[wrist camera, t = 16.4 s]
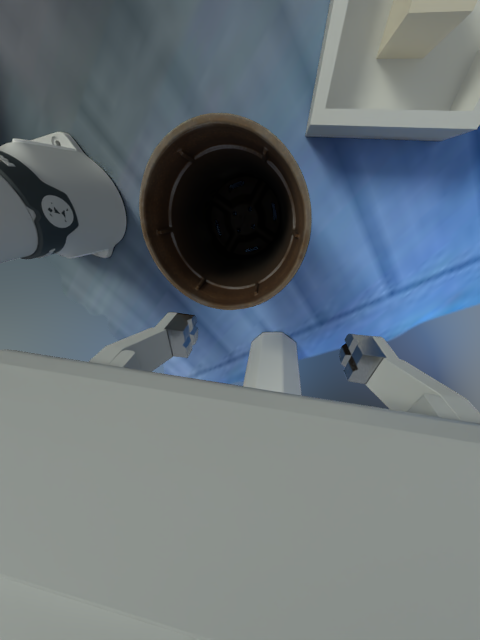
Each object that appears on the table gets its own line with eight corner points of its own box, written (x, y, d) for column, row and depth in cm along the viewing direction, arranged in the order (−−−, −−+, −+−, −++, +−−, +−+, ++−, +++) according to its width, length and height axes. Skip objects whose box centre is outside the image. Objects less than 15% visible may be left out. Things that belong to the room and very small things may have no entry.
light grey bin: (305, 136, 24) (310, 124, 20) (356, -138, 15) (384, -261, 11) (441, 141, 22) (476, 129, 18) (593, -168, 13) (733, -329, 9)
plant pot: (278, 125, 24) (275, 41, 11) (308, 246, 31) (329, 283, 18) (181, 189, 30) (103, 186, 17) (225, 278, 37) (195, 324, 24)
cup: (242, 338, 45) (223, 411, 30) (286, 324, 41) (289, 400, 26) (263, 369, 50) (255, 444, 35) (304, 358, 45) (316, 440, 30)
